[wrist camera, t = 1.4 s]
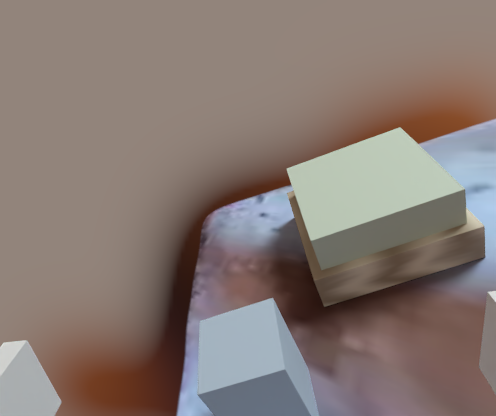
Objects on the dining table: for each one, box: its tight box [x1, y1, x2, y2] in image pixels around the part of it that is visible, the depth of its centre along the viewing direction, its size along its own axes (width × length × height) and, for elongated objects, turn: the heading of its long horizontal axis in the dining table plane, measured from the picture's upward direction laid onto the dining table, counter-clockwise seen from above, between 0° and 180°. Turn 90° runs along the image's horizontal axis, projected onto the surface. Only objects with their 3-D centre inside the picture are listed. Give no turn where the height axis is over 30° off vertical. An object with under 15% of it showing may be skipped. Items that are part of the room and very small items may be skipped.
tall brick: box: [197, 298, 319, 416], centre depth 30 cm, size 6×6×10 cm
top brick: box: [287, 127, 467, 270], centre depth 41 cm, size 14×14×4 cm
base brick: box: [287, 191, 485, 307], centre depth 44 cm, size 16×16×4 cm
